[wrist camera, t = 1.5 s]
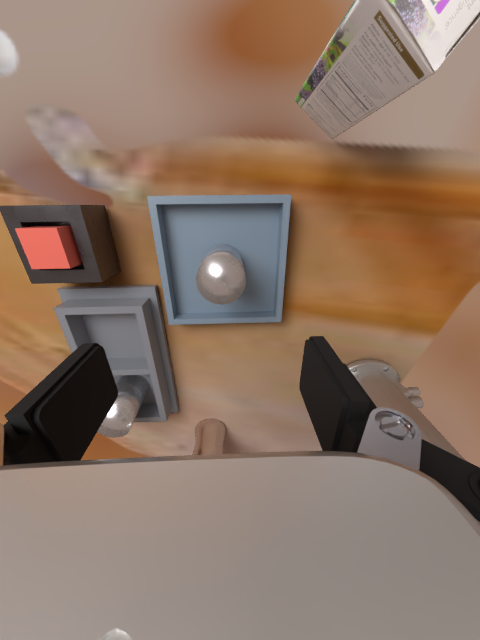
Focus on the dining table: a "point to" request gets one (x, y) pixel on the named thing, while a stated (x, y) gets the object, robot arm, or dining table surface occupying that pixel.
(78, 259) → the button
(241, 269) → the billet
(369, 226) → the dining table surface
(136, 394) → the seated billet
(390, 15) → the syrup box
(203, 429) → the beer glass
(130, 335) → the grey divided tray
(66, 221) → the box
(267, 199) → the tray
